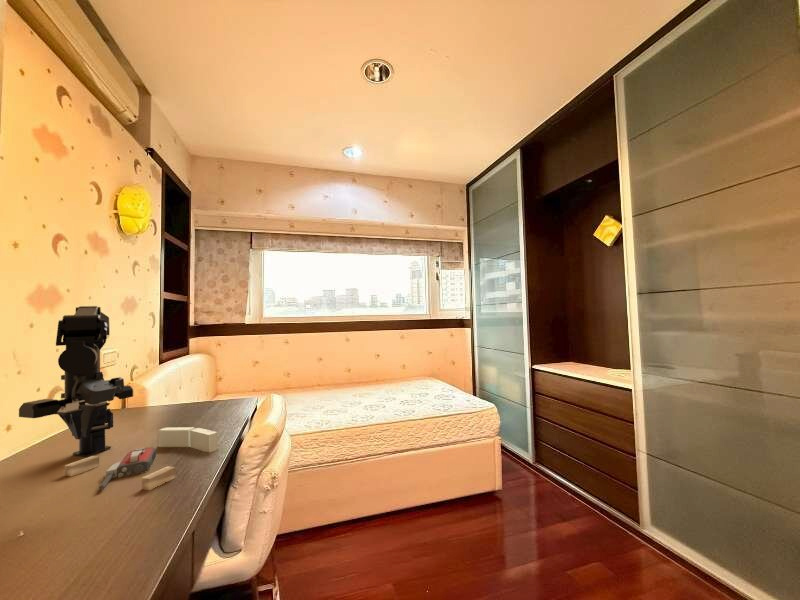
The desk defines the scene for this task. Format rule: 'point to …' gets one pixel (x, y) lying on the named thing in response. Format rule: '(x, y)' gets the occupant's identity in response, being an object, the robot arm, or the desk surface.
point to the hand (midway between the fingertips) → (82, 438)
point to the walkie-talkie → (131, 464)
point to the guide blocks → (147, 481)
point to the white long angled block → (188, 438)
